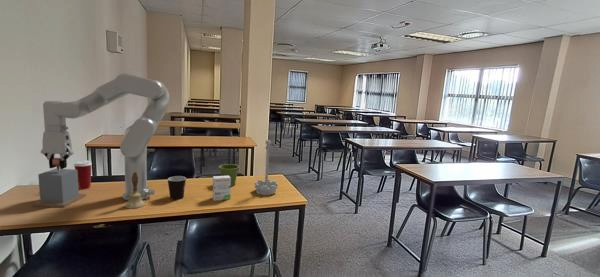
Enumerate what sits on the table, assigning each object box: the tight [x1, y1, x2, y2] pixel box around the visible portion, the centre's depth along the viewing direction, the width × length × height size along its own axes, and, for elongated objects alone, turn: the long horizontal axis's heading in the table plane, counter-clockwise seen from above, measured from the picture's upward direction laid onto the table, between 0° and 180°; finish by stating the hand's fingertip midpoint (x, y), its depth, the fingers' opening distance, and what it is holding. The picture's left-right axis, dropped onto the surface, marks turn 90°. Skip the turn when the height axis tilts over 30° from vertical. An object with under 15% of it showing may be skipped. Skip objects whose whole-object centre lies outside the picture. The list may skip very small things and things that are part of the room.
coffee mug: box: [167, 175, 187, 201], centre depth 153 cm, size 12×9×10 cm
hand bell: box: [124, 172, 146, 210], centre depth 138 cm, size 8×8×16 cm
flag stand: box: [254, 139, 279, 196], centre depth 167 cm, size 13×13×30 cm
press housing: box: [31, 168, 87, 208], centre depth 138 cm, size 14×14×14 cm
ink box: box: [212, 175, 232, 202], centre depth 154 cm, size 9×5×12 cm, turn 113°
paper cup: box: [73, 160, 93, 190], centre depth 157 cm, size 8×8×14 cm
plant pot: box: [218, 163, 240, 187], centre depth 177 cm, size 12×12×11 cm
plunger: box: [52, 157, 61, 173], centre depth 138 cm, size 7×7×18 cm
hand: (58, 167), depth 137 cm, fingers closed on plunger, 4 cm apart
